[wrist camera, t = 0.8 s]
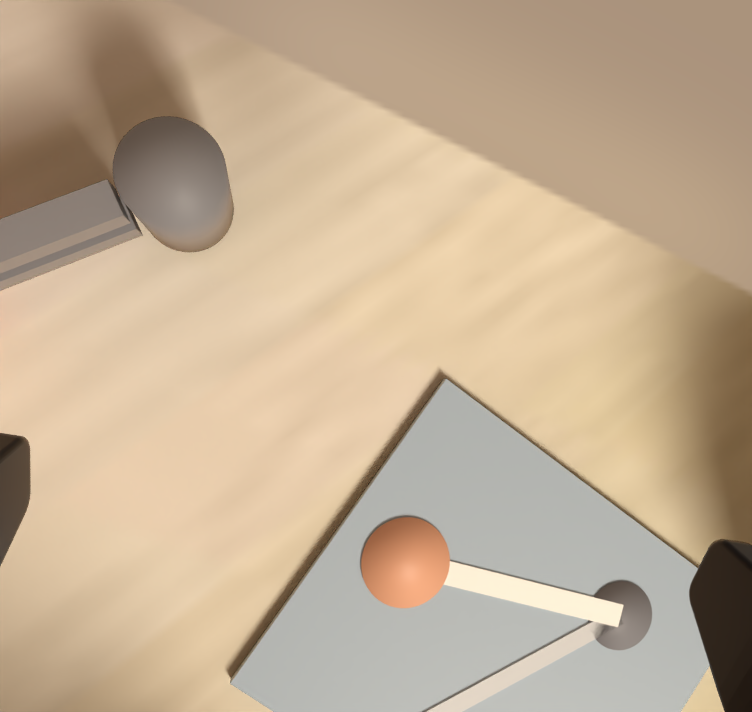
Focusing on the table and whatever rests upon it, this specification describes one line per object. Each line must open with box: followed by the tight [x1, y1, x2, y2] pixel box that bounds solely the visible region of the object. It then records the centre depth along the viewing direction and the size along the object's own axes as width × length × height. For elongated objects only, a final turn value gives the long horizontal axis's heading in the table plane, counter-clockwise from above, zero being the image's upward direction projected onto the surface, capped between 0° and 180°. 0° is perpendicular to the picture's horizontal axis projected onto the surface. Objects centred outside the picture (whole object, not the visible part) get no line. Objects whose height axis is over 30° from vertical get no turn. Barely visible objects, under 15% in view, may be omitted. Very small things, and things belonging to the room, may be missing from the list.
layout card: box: [230, 378, 710, 712], centre depth 23 cm, size 12×14×1 cm
